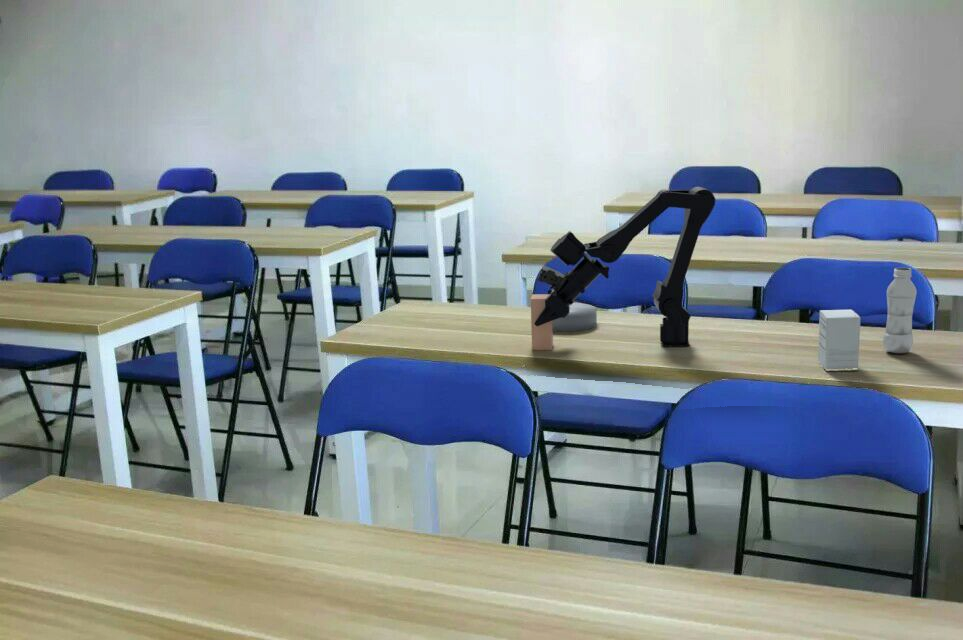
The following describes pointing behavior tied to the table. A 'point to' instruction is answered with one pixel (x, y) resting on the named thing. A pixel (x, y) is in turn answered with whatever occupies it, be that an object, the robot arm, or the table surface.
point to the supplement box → (839, 339)
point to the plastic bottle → (900, 312)
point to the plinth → (577, 318)
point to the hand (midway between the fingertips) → (536, 321)
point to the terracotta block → (544, 332)
